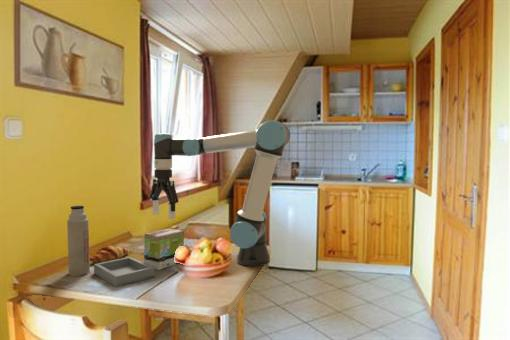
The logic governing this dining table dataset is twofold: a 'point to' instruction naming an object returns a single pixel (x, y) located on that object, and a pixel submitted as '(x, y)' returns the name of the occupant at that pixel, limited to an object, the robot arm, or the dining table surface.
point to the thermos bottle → (78, 242)
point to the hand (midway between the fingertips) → (163, 216)
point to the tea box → (162, 247)
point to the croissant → (109, 254)
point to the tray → (124, 271)
